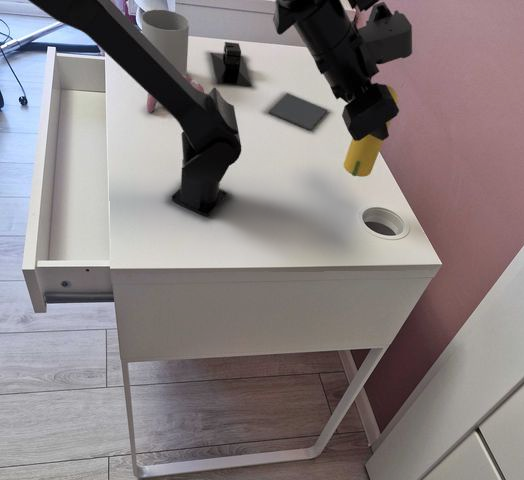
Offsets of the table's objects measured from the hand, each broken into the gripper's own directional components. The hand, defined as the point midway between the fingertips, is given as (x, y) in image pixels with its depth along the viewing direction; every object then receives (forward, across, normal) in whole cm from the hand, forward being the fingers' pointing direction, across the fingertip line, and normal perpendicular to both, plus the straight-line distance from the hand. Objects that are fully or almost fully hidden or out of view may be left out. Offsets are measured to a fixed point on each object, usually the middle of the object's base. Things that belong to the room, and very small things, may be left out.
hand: (381, 128), depth 72 cm
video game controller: (-10, +25, +30) cm, 40 cm away
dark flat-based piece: (-1, +42, +21) cm, 47 cm away
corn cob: (+4, 0, +6) cm, 7 cm away
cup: (-11, +37, +31) cm, 49 cm away
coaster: (+7, +28, +13) cm, 31 cm away
